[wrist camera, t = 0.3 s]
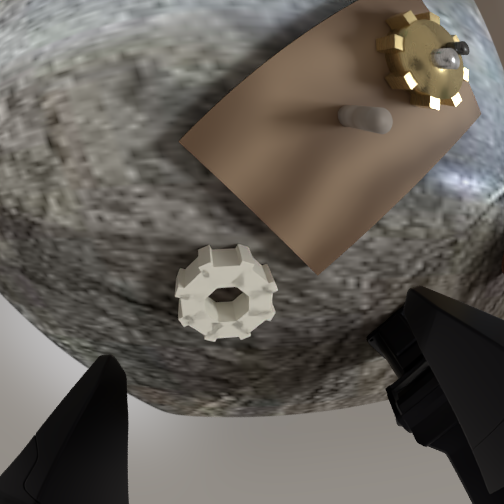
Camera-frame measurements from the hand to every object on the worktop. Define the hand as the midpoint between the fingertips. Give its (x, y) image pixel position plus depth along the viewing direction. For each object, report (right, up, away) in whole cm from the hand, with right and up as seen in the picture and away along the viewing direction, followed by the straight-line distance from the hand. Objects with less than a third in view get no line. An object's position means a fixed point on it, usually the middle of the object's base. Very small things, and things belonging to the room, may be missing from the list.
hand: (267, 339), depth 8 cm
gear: (+12, +16, +7) cm, 21 cm away
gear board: (+8, +13, +10) cm, 18 cm away
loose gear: (-3, 0, +15) cm, 15 cm away
